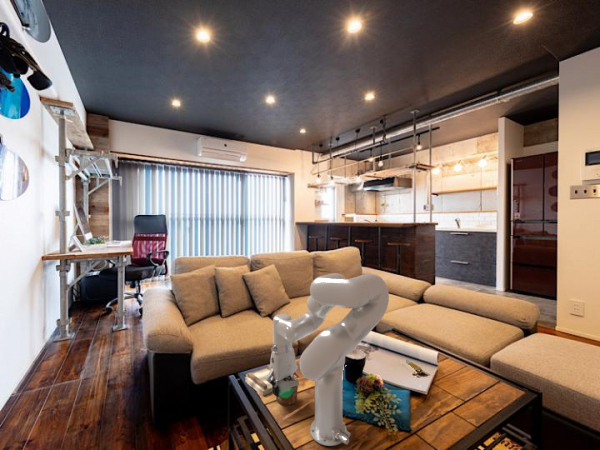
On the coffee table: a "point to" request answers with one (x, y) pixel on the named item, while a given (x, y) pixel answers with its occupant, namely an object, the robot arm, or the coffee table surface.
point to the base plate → (260, 381)
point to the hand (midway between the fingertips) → (282, 391)
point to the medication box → (413, 365)
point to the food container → (287, 391)
